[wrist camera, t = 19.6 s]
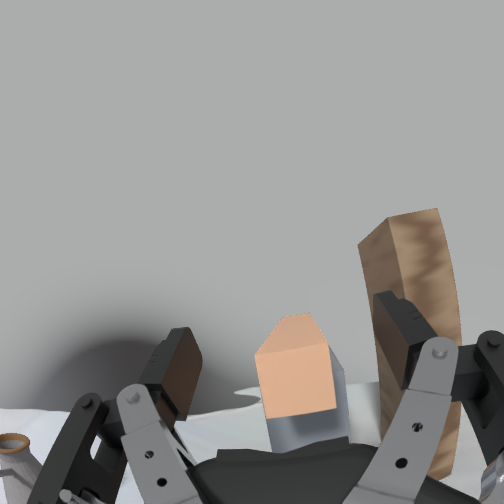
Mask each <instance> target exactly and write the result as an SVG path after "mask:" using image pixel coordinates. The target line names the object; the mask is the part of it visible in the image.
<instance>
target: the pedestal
mask: <svg viewBox="0 0 504 504" xmlns="http://www.w3.org/2000/svg"><path fill="white" fill-rule="evenodd" d="M328 346H329V345H328ZM329 353H330V360H331V367H332V374H333V382H334V390H335V398H336V407H337V408H333V409H328V410H323V411H318V412H312V413H306V414H300V415H293V416H286V417H278V418H269V419H266V423H267V428H268V433H269V438H270V443H271V448H272V453H285V452H288V451H291V450H294V449H297V448H300V447H303V446H306V445H309V444H311V443H314V442H318V441H324V440H329V439H334V438H339V437H344V436H348V438H349V443H351V438H350V425H349V413H348V402H347V393H346V384H345V375H344V370H343V368H342V366H341V365H340V363H339V361H338V359H337V358H336V356H335V354H334V353H333V351H332V349H331V348H330V347H329ZM259 386H260V384H259ZM260 391H261V388H260ZM261 397H262V393H261ZM262 402H263V399H262ZM263 407H264V404H263ZM264 412H265V409H264ZM265 417H266V414H265Z"/></svg>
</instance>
